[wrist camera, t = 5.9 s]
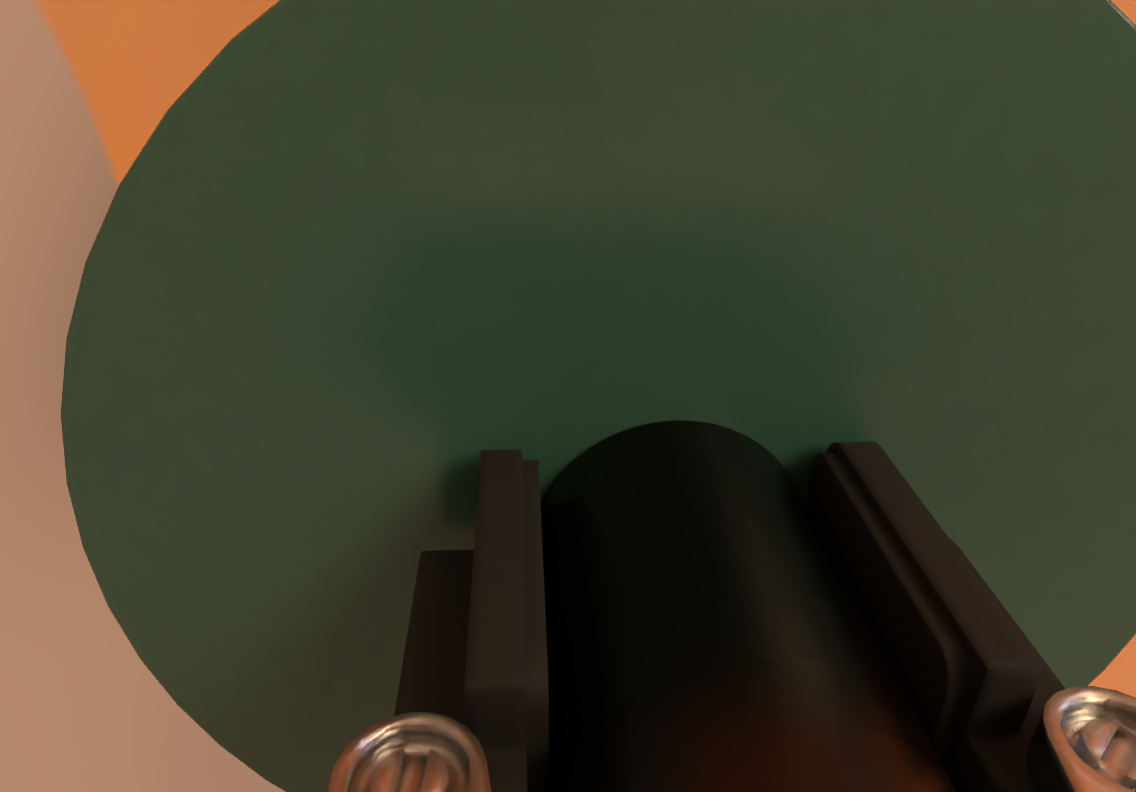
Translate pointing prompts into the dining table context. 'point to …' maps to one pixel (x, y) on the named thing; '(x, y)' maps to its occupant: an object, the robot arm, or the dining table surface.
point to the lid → (614, 360)
